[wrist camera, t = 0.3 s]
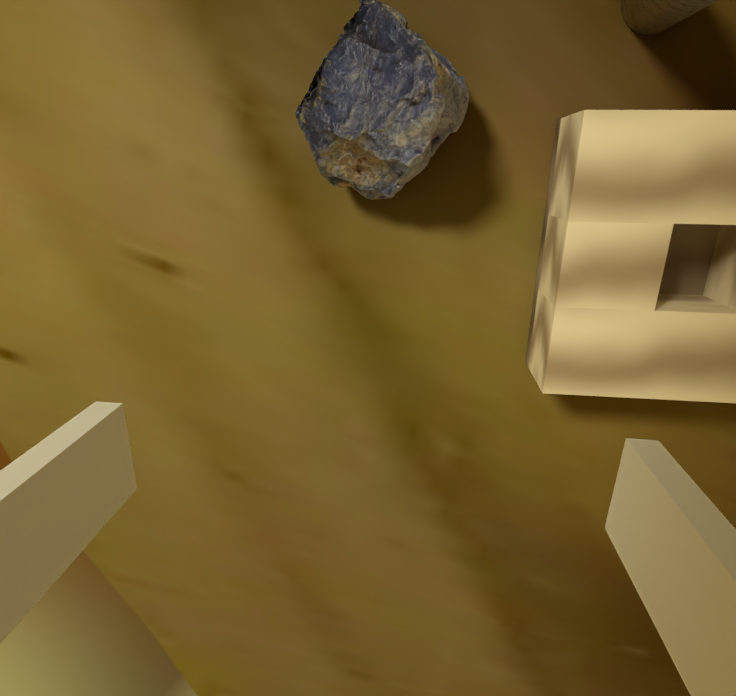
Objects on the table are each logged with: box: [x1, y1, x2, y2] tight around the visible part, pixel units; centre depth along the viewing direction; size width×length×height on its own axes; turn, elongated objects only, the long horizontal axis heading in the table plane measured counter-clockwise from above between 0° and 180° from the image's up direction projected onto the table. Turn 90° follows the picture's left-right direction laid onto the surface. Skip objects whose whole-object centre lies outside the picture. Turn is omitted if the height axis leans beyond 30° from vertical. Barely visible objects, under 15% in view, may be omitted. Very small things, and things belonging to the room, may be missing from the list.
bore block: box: [525, 110, 736, 403], centre depth 33 cm, size 18×18×6 cm
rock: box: [296, 0, 469, 200], centre depth 32 cm, size 11×10×10 cm
